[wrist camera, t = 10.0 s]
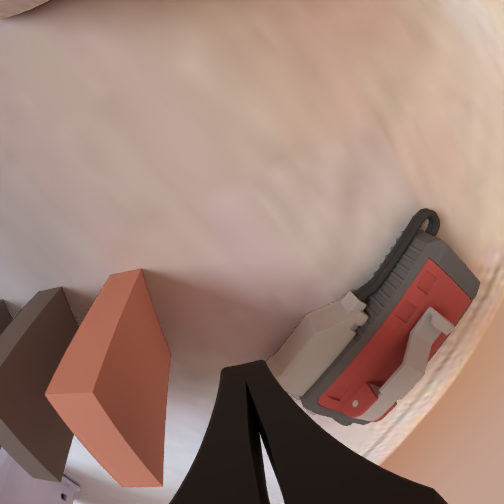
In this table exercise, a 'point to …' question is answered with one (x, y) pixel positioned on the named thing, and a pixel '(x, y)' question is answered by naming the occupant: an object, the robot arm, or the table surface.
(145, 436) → the red domino
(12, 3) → the ramekin
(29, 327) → the domino
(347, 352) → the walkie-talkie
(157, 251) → the table surface
